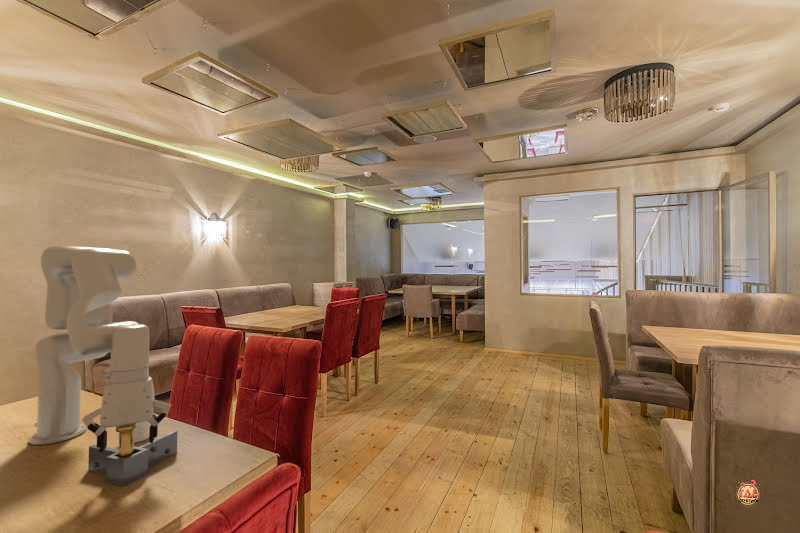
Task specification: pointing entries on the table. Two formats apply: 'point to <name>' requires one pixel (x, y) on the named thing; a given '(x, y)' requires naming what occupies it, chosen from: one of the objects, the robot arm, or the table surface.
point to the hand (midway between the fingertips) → (128, 445)
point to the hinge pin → (126, 439)
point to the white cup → (141, 431)
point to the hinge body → (131, 459)
